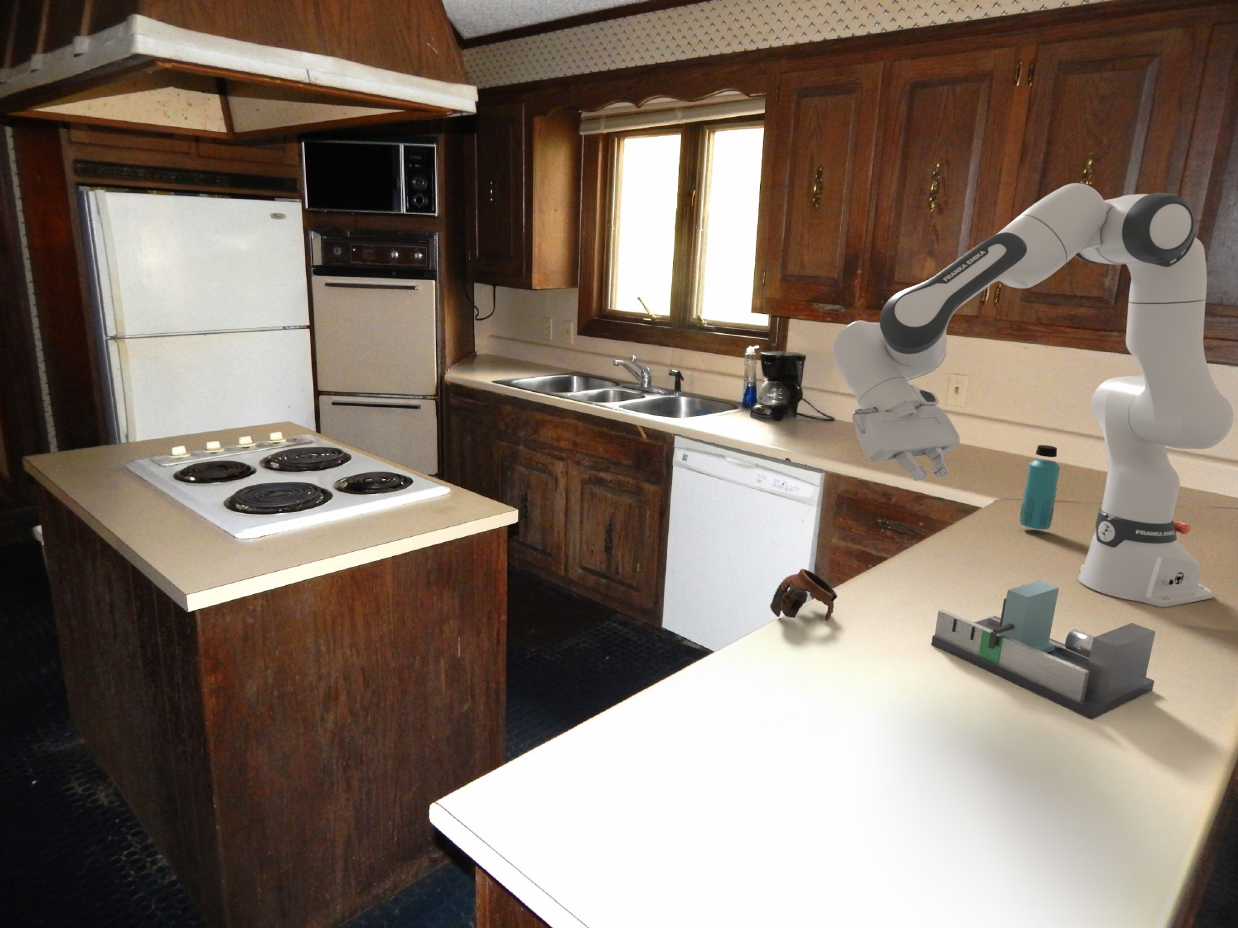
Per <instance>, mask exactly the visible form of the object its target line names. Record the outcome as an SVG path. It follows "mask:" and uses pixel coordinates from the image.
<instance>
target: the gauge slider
mask: <svg viewBox="0 0 1238 928" xmlns="http://www.w3.org/2000/svg"><path fill="white" fill-rule="evenodd" d="M1059 588H1060V587H1057V586H1055V585H1052V584H1049V583H1046V582H1044V581H1041V580H1038V581H1034V582H1030V583H1026V584H1023V585H1020V586H1016V587H1014V588H1009V589H1007V592H1006V597H1005V598H1003V603H1002V610H1001V616H1000V618H1001V620H1000V626H999V627H998V628H995V629H993V631H991V633H990V639H989V645H988V647H989V648H991V649H994V648H995V642H996V637H997V634H1002V635H1005V636H1007V637H1009V638H1012V639H1014V640H1017V641H1019V642H1021V643H1024V644H1026V645H1028V646H1031V647H1033V648H1036V649H1038V650H1040V651H1043V652H1045V653H1047V652H1050V651H1052V650H1055V644H1053V643H1050V642H1049V639H1050V638H1051V632H1052V627H1053V623H1054V616H1055V610H1056V606H1057V600H1058V596H1059V595H1058V594H1059Z"/></svg>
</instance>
